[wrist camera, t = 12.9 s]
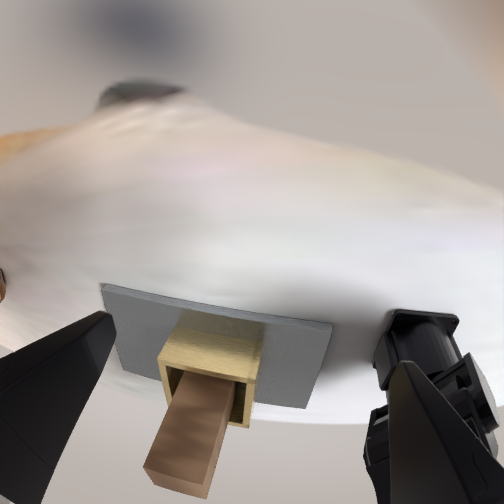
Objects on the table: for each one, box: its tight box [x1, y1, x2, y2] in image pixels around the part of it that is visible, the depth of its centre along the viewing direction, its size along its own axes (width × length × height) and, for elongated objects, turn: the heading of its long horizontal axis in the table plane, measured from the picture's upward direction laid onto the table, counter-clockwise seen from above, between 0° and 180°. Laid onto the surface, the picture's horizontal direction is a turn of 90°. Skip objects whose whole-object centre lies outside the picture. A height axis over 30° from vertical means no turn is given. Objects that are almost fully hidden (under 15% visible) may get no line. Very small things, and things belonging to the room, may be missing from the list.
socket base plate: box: [101, 284, 332, 428], centre depth 25 cm, size 20×11×5 cm, turn 86°
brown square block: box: [143, 370, 239, 499], centre depth 21 cm, size 4×4×12 cm
